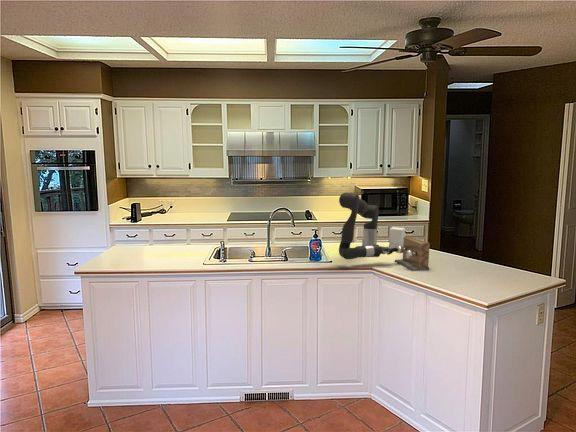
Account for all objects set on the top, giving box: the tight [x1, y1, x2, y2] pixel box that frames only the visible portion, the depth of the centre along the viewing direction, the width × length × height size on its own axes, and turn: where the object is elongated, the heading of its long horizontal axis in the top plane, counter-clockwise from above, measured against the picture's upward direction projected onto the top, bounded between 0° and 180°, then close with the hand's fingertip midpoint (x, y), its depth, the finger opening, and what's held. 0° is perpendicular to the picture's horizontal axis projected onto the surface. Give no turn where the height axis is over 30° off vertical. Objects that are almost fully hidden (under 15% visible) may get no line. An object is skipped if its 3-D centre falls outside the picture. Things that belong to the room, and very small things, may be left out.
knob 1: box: [395, 246, 407, 254], centre depth 271 cm, size 8×4×4 cm, turn 104°
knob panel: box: [394, 236, 431, 272], centre depth 266 cm, size 11×22×16 cm, turn 14°
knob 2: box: [405, 250, 417, 258], centre depth 260 cm, size 8×4×4 cm, turn 104°
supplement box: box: [388, 226, 406, 248], centre depth 312 cm, size 9×9×15 cm
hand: (396, 249), depth 270 cm, fingers closed
